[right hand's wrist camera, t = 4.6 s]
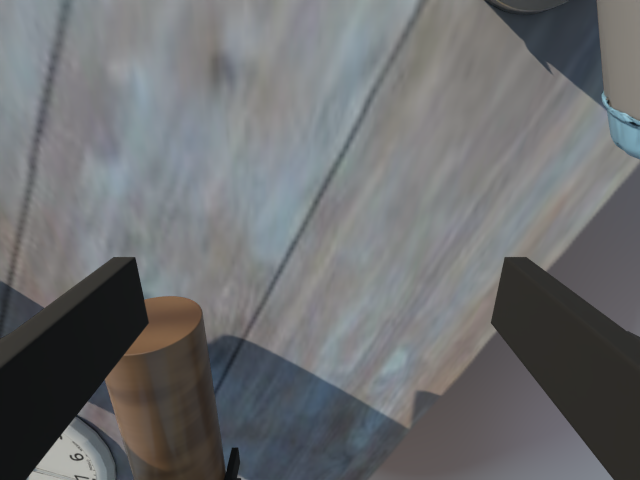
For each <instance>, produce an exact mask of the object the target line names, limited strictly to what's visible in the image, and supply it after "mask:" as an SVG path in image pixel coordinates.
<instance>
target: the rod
mask: <svg viewBox="0 0 640 480" xmlns="http://www.w3.org/2000/svg"><path fill="white" fill-rule="evenodd" d="M144 301H145V306H146V311H147V316H148V320H149V324H148V325H147V326H146V327H145V329H144V330H143V331H142V333H141V334H140V335H139V336H138V338H137V339H136V340H135V341H134V343H133V344H132V345H131V347H130V348H129V349H128V350H127V352H126V353H125V354H124V355H123V357H122V358H121V359H120V361H119V362H118V363H117V364H116V366H115V367H114V368H113V369H112V371H111V372H110V373H109V375H108V376H107V377H106V378H105V382H106V386H107V389H108V392H109V396H110V399H111V403H112V406H113V409H114V413H115V416H116V420H117V423H118V426H119V430H120V433H121V436H122V440H123V443H124V447H125V450H126V453H127V457H128V460H129V464H130V467H131V470H132V474H133V477H134V480H224V479H225V475H226V469H225V462H224V455H223V449H222V442H221V435H220V428H219V421H218V415H217V408H216V401H215V394H214V387H213V381H212V374H211V367H210V360H209V354H208V347H207V340H206V333H205V326H204V320H203V313H202V309H201V307H200V306H199V305H198V304H197V303H196V302H194V301H192V300H190V299H187V298H183V297H176V296H165V297H156V298H150V299H146V300H144Z"/></svg>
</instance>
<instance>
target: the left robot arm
mask: <svg viewBox="0 0 640 480" xmlns="http://www.w3.org/2000/svg"><path fill="white" fill-rule="evenodd" d="M239 465H240V458H239V450H238V448H232V450H231V454H230V458H229V463H228V467H227V471H226V475H225V479H224V480H241V478H237V474H238V470H239Z"/></svg>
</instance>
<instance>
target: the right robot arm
mask: <svg viewBox="0 0 640 480" xmlns="http://www.w3.org/2000/svg"><path fill="white" fill-rule="evenodd" d="M486 1H488V2H489V3H490V4H491V5H493V6H495V7H496V8H498V9H500V10H503V11H506V12H509V13H514V14H535V13H540V12H543V11H547V10H549V9H552V8H554V7H557V6H559V5H562V4H564V3H566V2H568V1H570V0H486ZM597 12H598V24H599V37H600V49H601V62H602V74H603V87H604V91H603V92H602V102H603V105H604V106H605V108H606V109H607V114H608V121H609V127H610V134H611V137H612V139H613V141H614V143H615V144H616V145H617V146H618V147H619V148H621V149H622V150H624V151H625V152H626V153H627V154H629V155H630V156H632V157H635V158H637V159H640V0H597ZM148 324H149V320H148V316H147V311H146V306H145V301H144V297H143V292H142V287H141V282H140V278H139V273H138V268H137V263H136V259H135V257H113V258H112V259H111V260H109V261H108V262H107V263H105V264H104V265H102V266H101V267H100V268H98V269H97V270H96V271H94V272H93V273H92V274H90V275H89V276H88V277H86V278H85V279H83V280H82V281H81V282H79V283H78V284H77V285H75V286H74V287H73V288H71V289H70V290H69V291H67V292H66V293H65V294H63V295H62V296H60V297H59V298H58V299H56V300H55V301H54V302H52V303H51V304H50V305H48V306H47V307H46V308H44V309H43V310H42V311H40V312H39V313H37V314H36V315H35V316H33V317H32V318H31V319H29V320H28V321H27V322H25V323H24V324H23V325H21V326H20V327H19V328H17V329H16V330H14V331H13V332H12V333H10V334H8V335H6V336H4V337H2V338H0V480H26V479H27V478H28V477H29V475H30V474H31V473H32V472H33V470H34V469H35V468H36V466H37V465H38V464H39V463H40V461H41V460H42V459H43V458H44V456H45V455H46V454H47V452H48V451H49V450H50V449H51V447H52V446H53V445H54V443H55V442H56V441H57V440H58V438H59V437H60V436H61V435H62V433H63V432H64V431H65V429H66V428H67V427H68V426H69V424H70V423H71V422H72V421H73V419H74V418H75V417H76V415H77V414H78V413H79V412H80V410H81V409H82V408H83V406H84V405H85V404H86V403H87V401H88V400H89V399H90V398H91V396H92V395H93V394H94V392H95V391H96V390H97V389H98V387H99V386H100V385H101V384H102V382H103V381H104V380H105V378H106V377H107V376H108V375H109V373H110V372H111V371H112V369H113V368H114V367H115V366H116V364H117V363H118V362H119V361H120V359H121V358H122V357H123V355H124V354H125V353H126V352H127V350H128V349H129V348H130V347H131V345H132V344H133V343H134V341H135V340H136V339H137V338H138V336H139V335H140V334H141V333H142V331H143V330H144V329H145V327H146V326H147V325H148ZM491 324H492V325H493V326H494V327H495V329H496V330H497V331H498V333H499V334H500V335H501V336H502V338H503V339H504V340H505V341H506V343H507V344H508V345H509V346H510V348H511V349H512V350H513V352H514V353H515V354H516V355H517V357H518V358H519V359H520V361H521V362H522V363H523V364H524V366H525V367H526V368H527V369H528V371H529V372H530V373H531V375H532V376H533V377H534V378H535V380H536V381H537V382H538V383H539V385H540V386H541V387H542V389H543V390H544V391H545V392H546V394H547V395H548V396H549V398H550V399H551V400H552V401H553V403H554V404H555V405H556V406H557V408H558V409H559V410H560V412H561V413H562V414H563V415H564V417H565V418H566V419H567V421H568V422H569V423H570V424H571V426H572V427H573V428H574V429H575V431H576V432H577V433H578V435H579V436H580V437H581V438H582V440H583V441H584V442H585V443H586V445H587V446H588V447H589V449H590V450H591V451H592V452H593V454H594V455H595V456H596V458H597V459H598V460H599V461H600V463H601V464H602V465H603V466H604V468H605V469H606V470H607V472H608V473H609V474H610V475H611V477H612V478H613V479H614V480H640V337H639V336H637V335H635V334H633V333H631V332H629V331H625V330H624V329H623V328H621V327H620V326H619V325H617V324H616V323H615V322H613V321H612V320H611V319H609V318H608V317H607V316H605V315H604V314H602V313H601V312H600V311H598V310H597V309H596V308H594V307H593V306H592V305H590V304H589V303H588V302H586V301H585V300H584V299H582V298H581V297H580V296H578V295H577V294H575V293H574V292H573V291H571V290H570V289H569V288H567V287H566V286H565V285H563V284H562V283H561V282H559V281H558V280H557V279H555V278H554V277H552V276H551V275H550V274H548V273H547V272H546V271H544V270H543V269H542V268H540V267H539V266H538V265H536V264H535V263H533V262H532V261H531V260H529V259H528V258H527V257H505V259H504V263H503V268H502V273H501V278H500V282H499V287H498V292H497V297H496V301H495V306H494V311H493V316H492V320H491Z"/></svg>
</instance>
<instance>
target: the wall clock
mask: <svg viewBox="0 0 640 480" xmlns="http://www.w3.org/2000/svg"><path fill="white" fill-rule="evenodd" d="M26 480H116V471H115V462H114V460H113V457H112V455H111V452H110V450H109V448H108V447H107V445H106V444H105V443H104V441H103V440H102V439H101V438H100V436H99V435H98V434H97V433H96V432H95V431H94V430H93V429H92V428H90V427H89V426H88V425H87V424H85V423H84V422H83V421H82V420H80V419H79V418H78V417H75V418H74V419H73V421H72V422H71V423H70V424H69V426H68V427H67V428H66V429H65V431H64V432H63V433H62V435H61V436H60V437H59V438H58V440H57V441H56V442H55V443H54V445H53V446H52V447H51V449H50V450H49V451H48V452H47V454H46V455H45V456H44V458H43V459H42V460H41V461H40V463H39V464H38V465H37V466H36V468H35V469H34V470H33V472H32V473H31V474H30V475H29V477H28V478H27V479H26Z"/></svg>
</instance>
